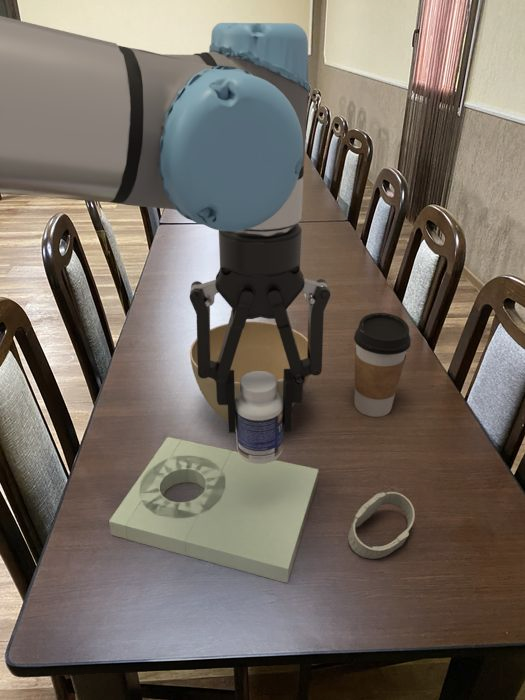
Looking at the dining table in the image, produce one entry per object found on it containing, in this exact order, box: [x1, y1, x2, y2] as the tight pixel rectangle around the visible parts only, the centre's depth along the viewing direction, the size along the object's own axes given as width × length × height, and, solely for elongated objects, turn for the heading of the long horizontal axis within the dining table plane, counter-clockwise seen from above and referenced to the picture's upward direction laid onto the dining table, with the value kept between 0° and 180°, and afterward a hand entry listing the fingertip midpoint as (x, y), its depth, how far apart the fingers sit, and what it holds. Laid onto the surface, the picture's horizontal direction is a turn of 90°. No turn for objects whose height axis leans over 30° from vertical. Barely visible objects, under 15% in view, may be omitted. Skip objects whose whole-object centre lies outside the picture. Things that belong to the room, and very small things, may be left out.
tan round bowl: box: [189, 320, 310, 428], centre depth 82 cm, size 18×18×12 cm
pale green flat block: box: [108, 436, 319, 584], centre depth 68 cm, size 22×16×2 cm
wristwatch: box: [347, 491, 416, 560], centre depth 64 cm, size 9×6×5 cm
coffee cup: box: [353, 312, 412, 418], centre depth 83 cm, size 8×8×15 cm
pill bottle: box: [235, 371, 284, 464], centre depth 60 cm, size 5×5×10 cm
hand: (259, 423), depth 60 cm, fingers closed on pill bottle, 5 cm apart
